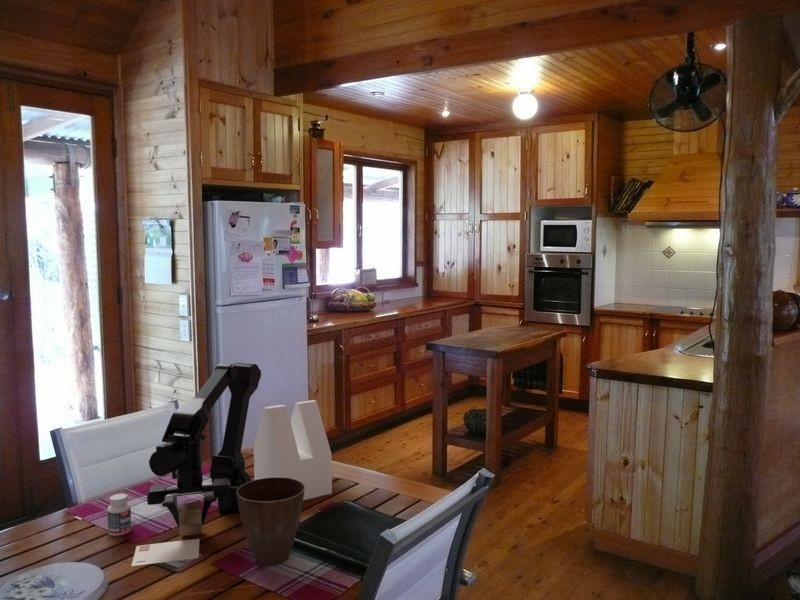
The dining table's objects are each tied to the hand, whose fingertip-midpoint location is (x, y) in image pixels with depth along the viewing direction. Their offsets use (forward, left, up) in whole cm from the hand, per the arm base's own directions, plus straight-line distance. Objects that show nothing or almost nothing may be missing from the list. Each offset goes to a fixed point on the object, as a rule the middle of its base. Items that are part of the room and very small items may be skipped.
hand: (190, 525), depth 156 cm
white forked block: (-27, -25, -3) cm, 37 cm away
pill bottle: (+17, -8, -3) cm, 19 cm away
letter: (+5, +7, -3) cm, 9 cm away
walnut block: (0, 0, -1) cm, 1 cm away
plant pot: (-18, +16, -3) cm, 24 cm away
